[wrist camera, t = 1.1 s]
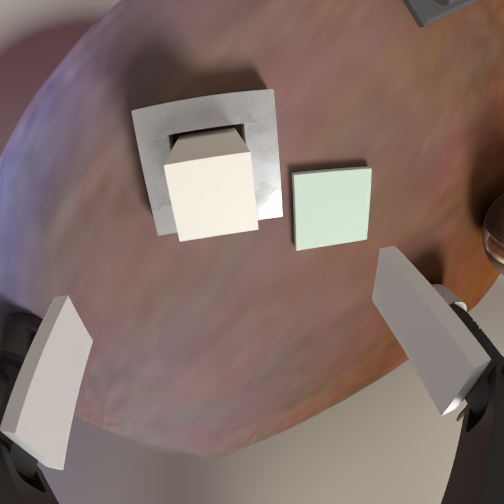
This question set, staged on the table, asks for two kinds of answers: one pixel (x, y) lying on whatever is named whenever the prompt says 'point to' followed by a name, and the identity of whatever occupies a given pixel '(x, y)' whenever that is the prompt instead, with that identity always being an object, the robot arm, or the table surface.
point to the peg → (211, 184)
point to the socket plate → (201, 117)
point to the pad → (330, 206)
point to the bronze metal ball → (495, 234)
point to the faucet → (434, 9)
